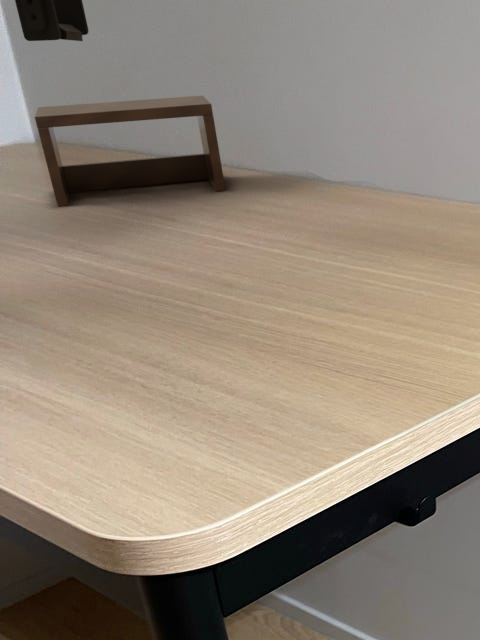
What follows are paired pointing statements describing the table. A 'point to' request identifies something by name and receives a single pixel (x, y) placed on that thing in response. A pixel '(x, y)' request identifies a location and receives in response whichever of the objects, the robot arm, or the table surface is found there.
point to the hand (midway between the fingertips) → (57, 35)
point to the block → (70, 32)
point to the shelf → (136, 169)
